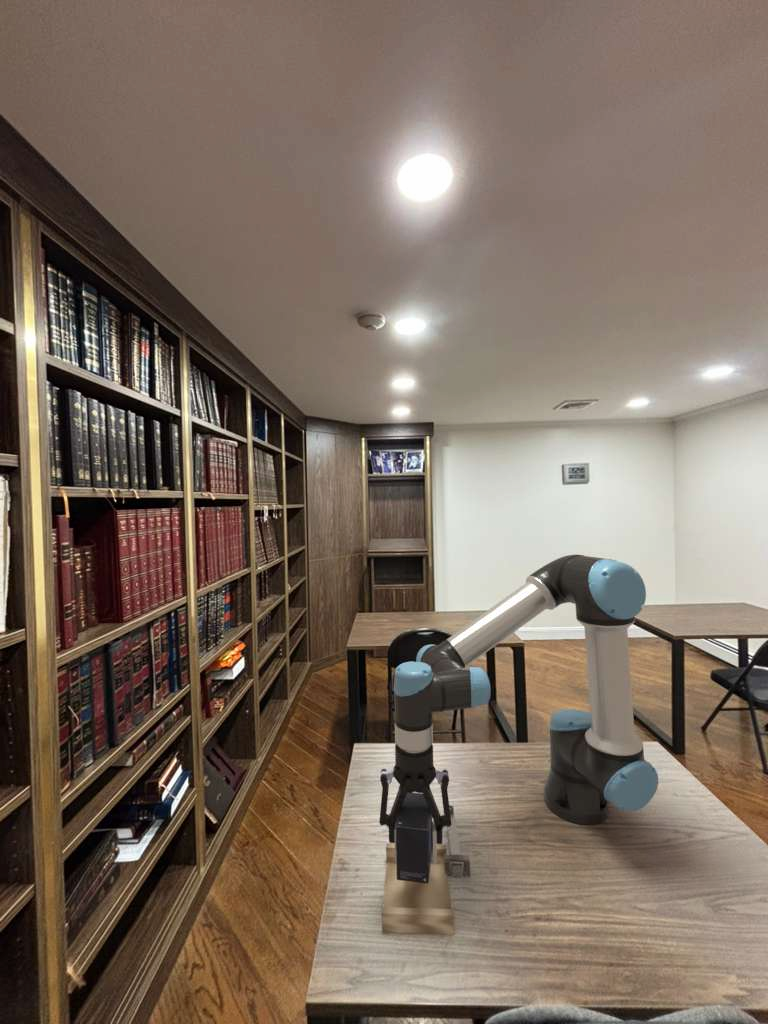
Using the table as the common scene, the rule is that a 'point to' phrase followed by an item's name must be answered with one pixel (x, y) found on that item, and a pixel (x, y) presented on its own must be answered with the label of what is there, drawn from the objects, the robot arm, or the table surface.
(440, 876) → the cradle
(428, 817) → the small box
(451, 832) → the lock bolt
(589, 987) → the table surface
